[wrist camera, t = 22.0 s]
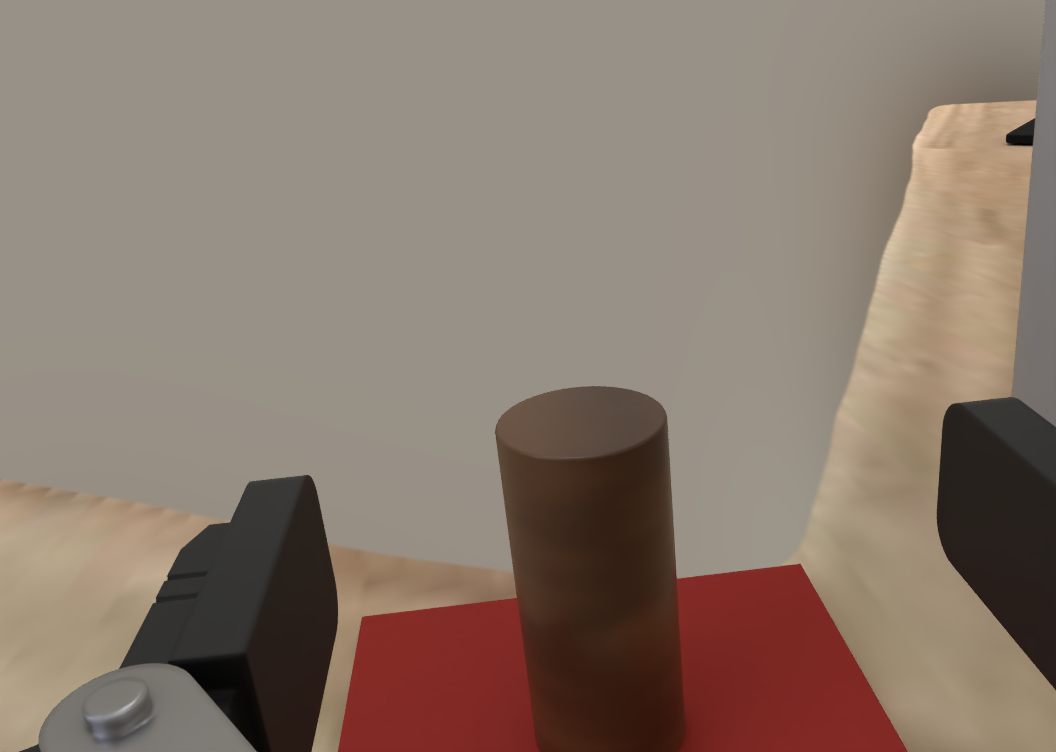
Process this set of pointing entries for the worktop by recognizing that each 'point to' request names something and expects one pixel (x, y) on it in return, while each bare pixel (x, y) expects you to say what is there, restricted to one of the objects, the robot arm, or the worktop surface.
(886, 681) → the worktop surface
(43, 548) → the worktop surface
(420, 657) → the red pad
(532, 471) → the roller
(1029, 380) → the gray pitcher
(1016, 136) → the cell phone
